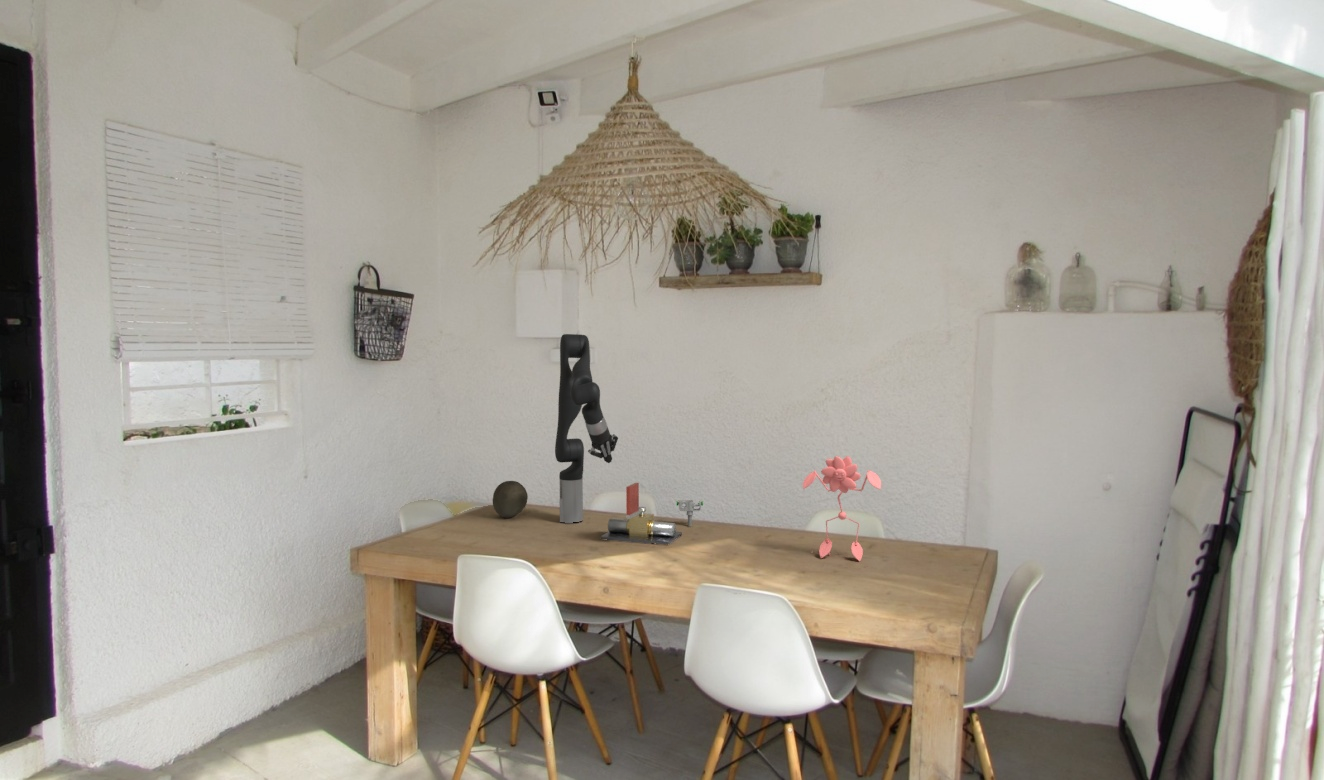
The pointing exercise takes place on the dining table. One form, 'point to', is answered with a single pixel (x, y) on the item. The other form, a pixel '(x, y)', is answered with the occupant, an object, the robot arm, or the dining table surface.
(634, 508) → the valve lever
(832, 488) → the flower figure
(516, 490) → the kiwi fruit
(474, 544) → the dining table surface
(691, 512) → the mechanical component
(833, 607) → the dining table surface
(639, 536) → the valve stand
